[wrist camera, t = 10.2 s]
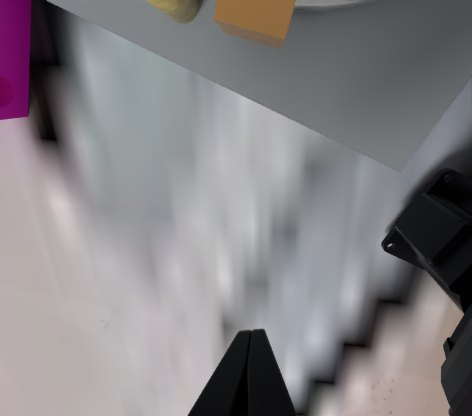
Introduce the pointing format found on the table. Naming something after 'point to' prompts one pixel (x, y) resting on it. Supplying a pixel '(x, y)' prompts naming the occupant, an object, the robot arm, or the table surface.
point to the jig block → (323, 64)
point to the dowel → (178, 9)
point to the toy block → (14, 57)
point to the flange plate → (271, 16)
